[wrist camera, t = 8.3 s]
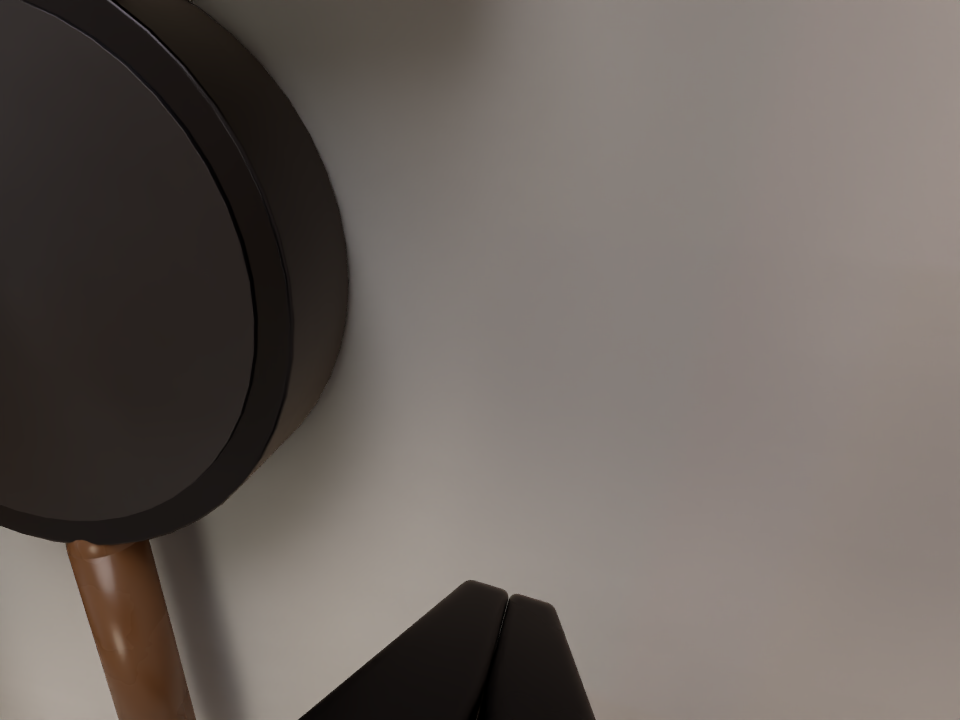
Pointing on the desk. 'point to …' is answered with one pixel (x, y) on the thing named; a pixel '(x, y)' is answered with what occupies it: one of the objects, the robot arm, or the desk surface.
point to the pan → (150, 298)
